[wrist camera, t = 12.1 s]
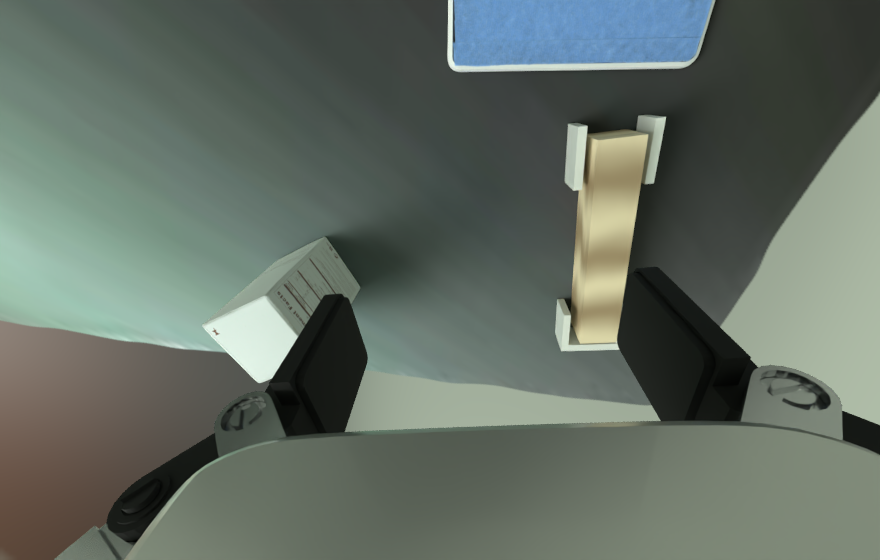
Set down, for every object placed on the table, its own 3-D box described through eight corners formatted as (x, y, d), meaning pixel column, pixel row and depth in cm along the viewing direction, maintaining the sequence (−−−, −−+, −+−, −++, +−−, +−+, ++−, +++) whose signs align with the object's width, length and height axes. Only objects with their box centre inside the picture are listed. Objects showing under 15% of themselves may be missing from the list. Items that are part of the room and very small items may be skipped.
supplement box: (314, 308, 41) (256, 386, 30) (276, 258, 38) (196, 325, 27) (363, 288, 39) (320, 363, 28) (327, 234, 36) (263, 294, 25)
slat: (581, 134, 30) (598, 140, 26) (625, 128, 29) (648, 134, 25) (569, 318, 39) (580, 343, 35) (601, 316, 39) (616, 342, 35)
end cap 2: (557, 299, 38) (564, 315, 35) (617, 296, 37) (629, 312, 34) (555, 333, 40) (561, 351, 37) (611, 331, 39) (622, 349, 36)
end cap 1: (568, 123, 29) (578, 126, 26) (647, 114, 28) (666, 116, 25) (564, 181, 31) (573, 190, 29) (637, 175, 31) (653, 183, 28)
